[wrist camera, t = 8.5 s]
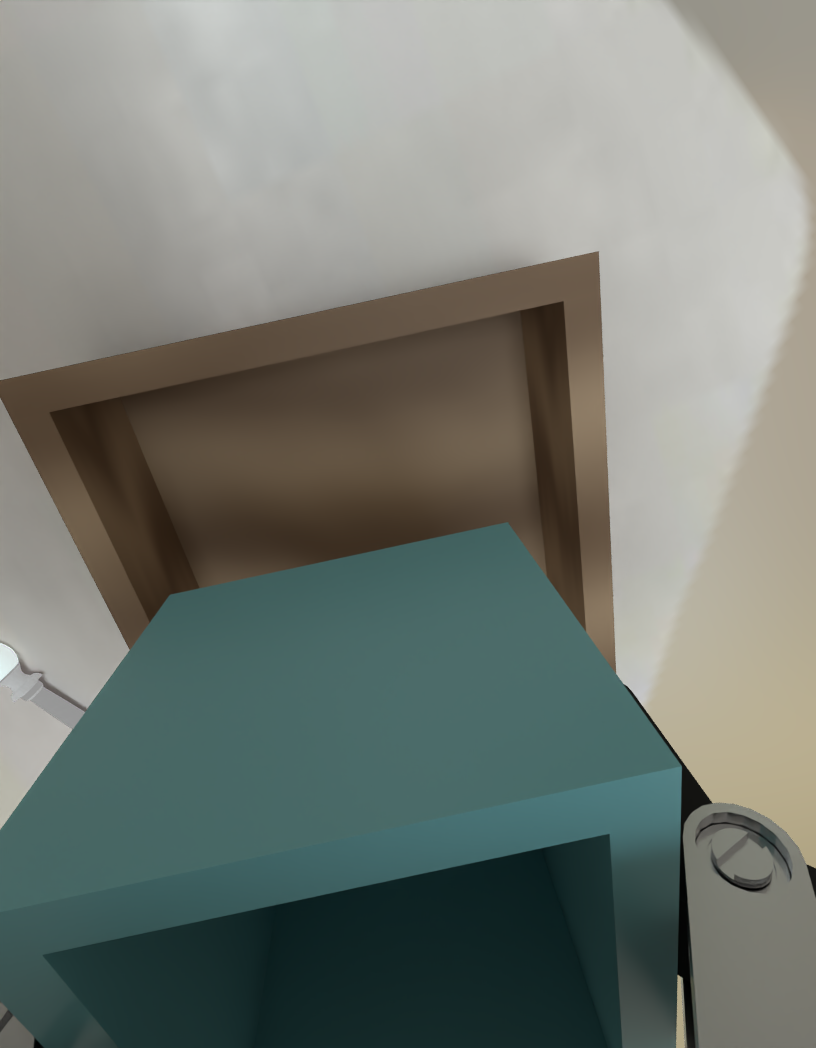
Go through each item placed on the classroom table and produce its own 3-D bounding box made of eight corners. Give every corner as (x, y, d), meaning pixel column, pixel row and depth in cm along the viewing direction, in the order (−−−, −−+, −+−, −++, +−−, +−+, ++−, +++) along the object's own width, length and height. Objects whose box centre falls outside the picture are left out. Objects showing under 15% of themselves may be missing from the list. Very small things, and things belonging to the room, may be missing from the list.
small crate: (169, 594, 10) (-70, 927, 5) (507, 522, 10) (682, 766, 5) (273, 826, 13) (201, 1214, 7) (539, 769, 13) (674, 1114, 7)
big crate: (90, 365, 17) (-8, 382, 13) (536, 269, 17) (598, 251, 13) (239, 710, 24) (209, 805, 19) (567, 638, 24) (617, 716, 19)
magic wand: (356, 880, 31) (343, 913, 30) (-15, 635, 22) (-54, 669, 21) (374, 886, 30) (362, 920, 29) (-9, 630, 21) (-49, 666, 20)
